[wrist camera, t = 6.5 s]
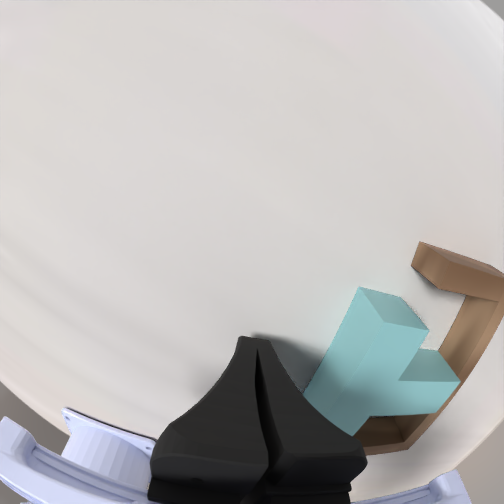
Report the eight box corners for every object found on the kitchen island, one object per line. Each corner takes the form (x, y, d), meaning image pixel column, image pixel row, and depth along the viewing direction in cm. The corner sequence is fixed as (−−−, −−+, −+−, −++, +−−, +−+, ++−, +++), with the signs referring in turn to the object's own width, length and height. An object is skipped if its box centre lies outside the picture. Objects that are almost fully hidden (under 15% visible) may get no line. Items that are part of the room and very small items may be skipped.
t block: (395, 409, 15) (409, 440, 12) (297, 403, 15) (302, 444, 12) (459, 312, 13) (488, 340, 10) (358, 286, 12) (384, 321, 9)
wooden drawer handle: (397, 425, 16) (407, 449, 14) (324, 428, 16) (331, 458, 13) (491, 265, 12) (518, 283, 9) (419, 241, 11) (449, 260, 9)
